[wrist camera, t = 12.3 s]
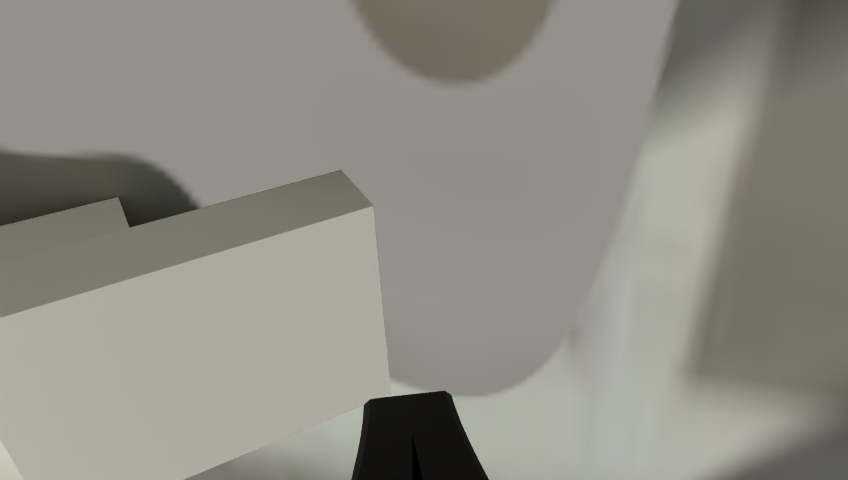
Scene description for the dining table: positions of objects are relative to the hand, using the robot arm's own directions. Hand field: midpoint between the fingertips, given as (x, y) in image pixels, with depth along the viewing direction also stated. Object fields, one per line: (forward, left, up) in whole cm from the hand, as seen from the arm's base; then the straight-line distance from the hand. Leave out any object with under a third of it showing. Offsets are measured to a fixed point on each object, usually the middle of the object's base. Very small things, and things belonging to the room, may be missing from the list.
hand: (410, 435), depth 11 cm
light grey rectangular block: (+1, 0, -4) cm, 4 cm away
